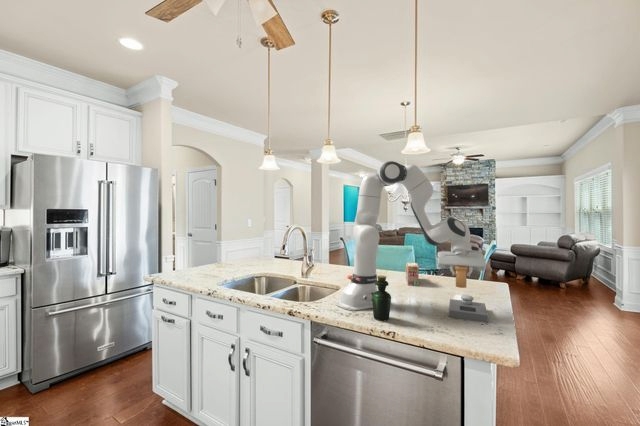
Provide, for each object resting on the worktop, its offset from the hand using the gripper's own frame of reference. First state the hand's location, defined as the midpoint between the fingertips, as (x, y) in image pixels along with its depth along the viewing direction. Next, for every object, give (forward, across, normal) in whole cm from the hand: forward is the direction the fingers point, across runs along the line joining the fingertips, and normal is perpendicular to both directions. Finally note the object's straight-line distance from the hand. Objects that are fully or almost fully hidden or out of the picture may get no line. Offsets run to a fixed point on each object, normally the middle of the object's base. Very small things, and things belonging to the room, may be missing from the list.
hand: (461, 276), depth 137 cm
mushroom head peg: (+3, 0, +4) cm, 5 cm away
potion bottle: (+27, -32, -3) cm, 41 cm away
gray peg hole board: (+11, +3, +14) cm, 17 cm away
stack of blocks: (-25, -28, +49) cm, 62 cm away
